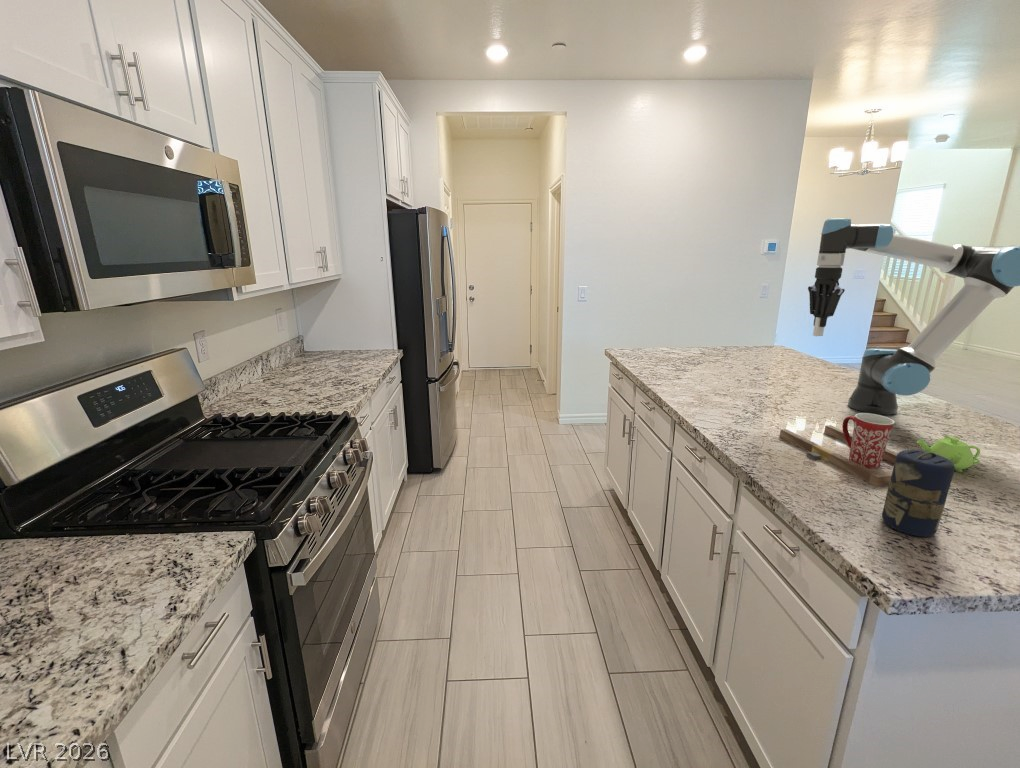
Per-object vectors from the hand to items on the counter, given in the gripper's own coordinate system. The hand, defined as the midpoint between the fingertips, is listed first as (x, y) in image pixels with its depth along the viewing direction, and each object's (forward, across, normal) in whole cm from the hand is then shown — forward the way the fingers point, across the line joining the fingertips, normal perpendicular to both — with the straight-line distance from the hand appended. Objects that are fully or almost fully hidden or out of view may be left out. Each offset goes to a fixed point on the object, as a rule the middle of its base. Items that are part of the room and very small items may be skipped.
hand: (817, 335), depth 167 cm
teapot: (+30, +45, +5) cm, 54 cm away
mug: (+30, +37, -15) cm, 49 cm away
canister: (+30, +67, -36) cm, 82 cm away
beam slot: (+29, +33, -15) cm, 46 cm away
